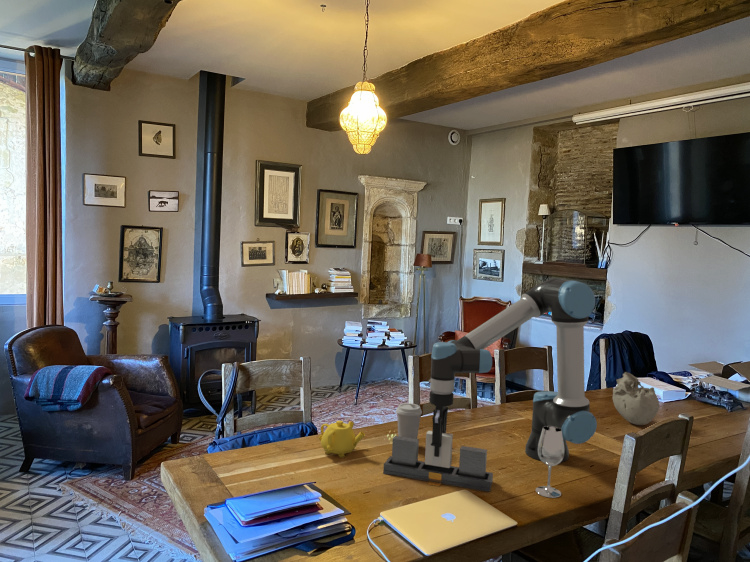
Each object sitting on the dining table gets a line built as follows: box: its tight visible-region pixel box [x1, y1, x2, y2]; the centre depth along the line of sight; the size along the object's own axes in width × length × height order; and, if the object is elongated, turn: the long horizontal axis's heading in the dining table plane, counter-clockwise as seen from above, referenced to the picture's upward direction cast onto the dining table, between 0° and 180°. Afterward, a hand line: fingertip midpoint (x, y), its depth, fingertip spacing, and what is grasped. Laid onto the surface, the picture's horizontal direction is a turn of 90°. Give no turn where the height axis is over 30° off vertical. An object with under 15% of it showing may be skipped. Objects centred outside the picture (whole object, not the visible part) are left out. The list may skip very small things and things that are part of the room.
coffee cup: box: [395, 402, 423, 439], centre depth 205 cm, size 10×10×15 cm
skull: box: [612, 371, 661, 426], centre depth 244 cm, size 20×15×22 cm
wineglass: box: [535, 426, 564, 499], centre depth 170 cm, size 8×8×20 cm
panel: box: [424, 430, 454, 468], centre depth 178 cm, size 8×3×10 cm, turn 72°
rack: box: [382, 435, 494, 493], centre depth 177 cm, size 34×10×11 cm, turn 72°
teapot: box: [318, 420, 366, 458], centre depth 196 cm, size 14×14×11 cm
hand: (437, 463), depth 178 cm, fingers closed on panel, 3 cm apart
